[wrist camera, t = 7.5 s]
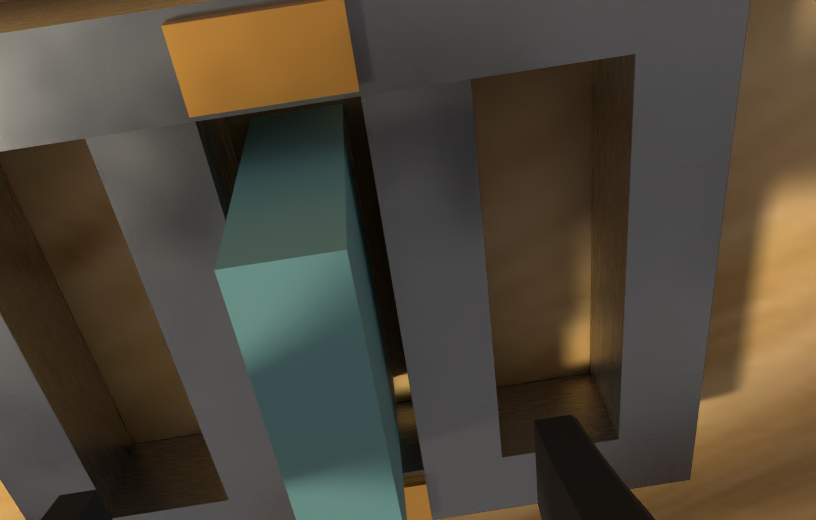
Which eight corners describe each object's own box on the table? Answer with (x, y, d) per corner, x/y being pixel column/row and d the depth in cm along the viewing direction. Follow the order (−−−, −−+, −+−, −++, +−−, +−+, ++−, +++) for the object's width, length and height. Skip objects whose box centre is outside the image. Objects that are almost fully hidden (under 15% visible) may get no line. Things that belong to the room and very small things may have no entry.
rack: (656, 412, 22) (694, 488, 20) (88, 501, 22) (59, 587, 20) (697, -104, 14) (769, -81, 12) (-175, 30, 14) (-273, 79, 12)
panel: (392, 376, 20) (412, 570, 15) (320, 386, 20) (317, 584, 15) (342, 103, 16) (347, 249, 11) (251, 116, 16) (214, 270, 11)
